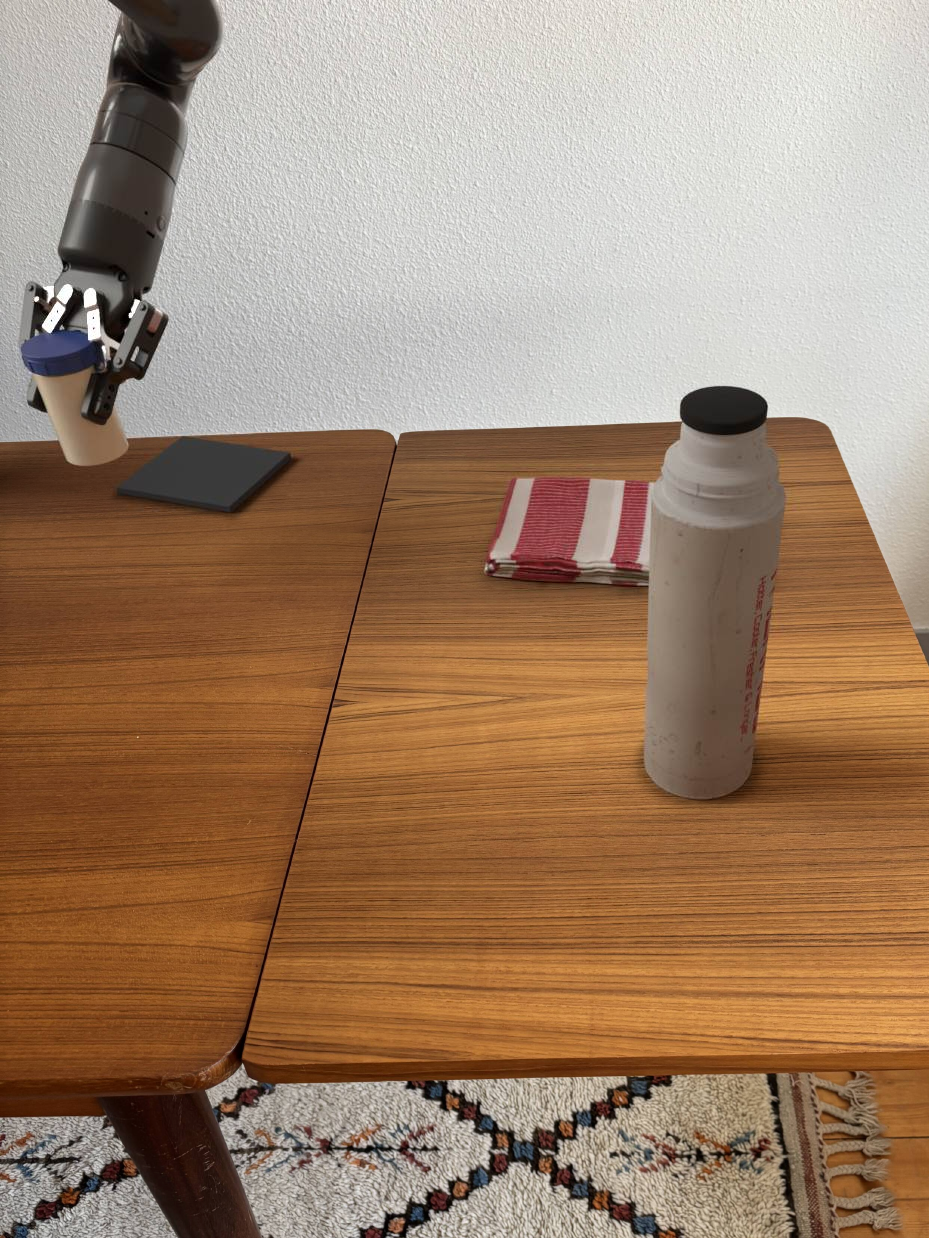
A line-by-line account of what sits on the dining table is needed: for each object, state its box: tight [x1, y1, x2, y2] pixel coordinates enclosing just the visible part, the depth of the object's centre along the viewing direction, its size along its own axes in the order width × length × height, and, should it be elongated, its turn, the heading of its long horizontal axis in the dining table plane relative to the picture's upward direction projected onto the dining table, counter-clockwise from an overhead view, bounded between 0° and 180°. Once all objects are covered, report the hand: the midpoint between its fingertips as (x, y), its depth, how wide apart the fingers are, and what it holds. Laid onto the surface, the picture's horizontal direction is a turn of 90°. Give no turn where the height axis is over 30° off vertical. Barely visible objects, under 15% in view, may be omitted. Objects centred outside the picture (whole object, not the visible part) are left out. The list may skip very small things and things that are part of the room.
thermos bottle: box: [643, 385, 787, 800], centre depth 68 cm, size 8×8×28 cm
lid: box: [19, 328, 96, 375], centre depth 86 cm, size 6×6×2 cm
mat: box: [115, 435, 292, 514], centre depth 112 cm, size 14×12×1 cm
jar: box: [31, 364, 130, 467], centre depth 89 cm, size 5×5×9 cm
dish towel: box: [483, 476, 656, 587], centre depth 100 cm, size 17×23×3 cm
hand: (65, 414), depth 88 cm, fingers closed on jar, 5 cm apart
